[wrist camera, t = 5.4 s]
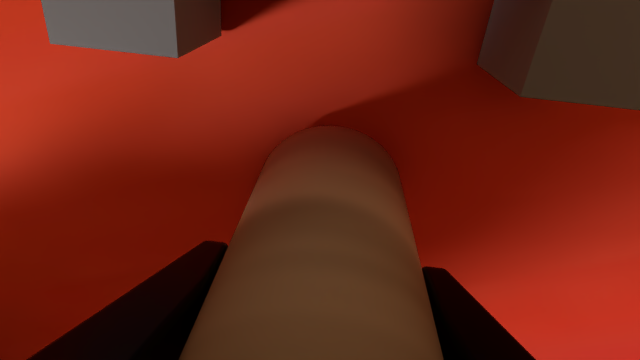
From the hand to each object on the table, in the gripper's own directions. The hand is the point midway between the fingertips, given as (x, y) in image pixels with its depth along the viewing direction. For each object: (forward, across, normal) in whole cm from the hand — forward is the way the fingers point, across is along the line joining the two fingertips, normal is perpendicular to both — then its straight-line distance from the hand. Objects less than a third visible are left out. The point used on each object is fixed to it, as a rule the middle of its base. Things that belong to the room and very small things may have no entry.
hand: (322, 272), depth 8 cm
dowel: (+3, 0, 0) cm, 3 cm away
